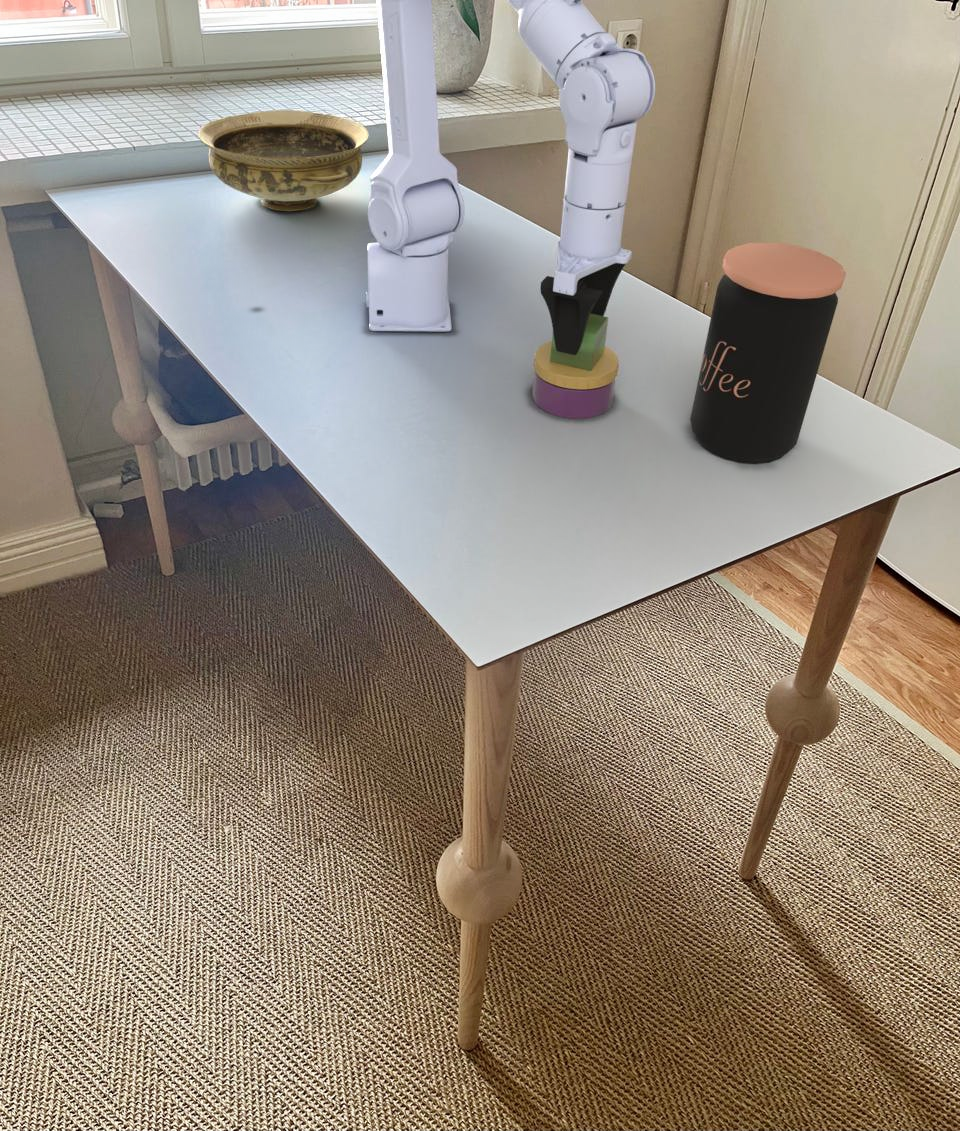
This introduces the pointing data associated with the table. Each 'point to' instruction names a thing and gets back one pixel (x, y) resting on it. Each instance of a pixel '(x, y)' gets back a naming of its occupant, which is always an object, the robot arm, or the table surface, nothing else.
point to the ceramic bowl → (285, 155)
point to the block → (585, 345)
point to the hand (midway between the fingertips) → (579, 336)
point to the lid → (575, 370)
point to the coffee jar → (764, 350)
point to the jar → (572, 399)
